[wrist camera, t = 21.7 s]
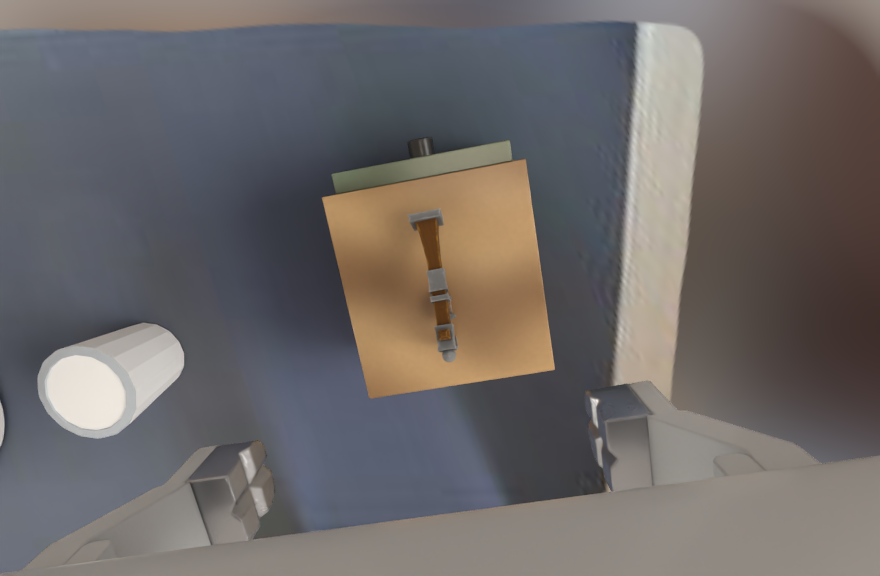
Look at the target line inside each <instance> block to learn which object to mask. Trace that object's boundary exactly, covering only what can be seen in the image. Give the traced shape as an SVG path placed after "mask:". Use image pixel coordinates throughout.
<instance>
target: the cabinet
mask: <svg viewBox="0 0 880 576" xmlns="http://www.w3.org/2000/svg"><path fill="white" fill-rule="evenodd" d="M322 200H323V204H324V209H325V213H326V217H327V221H328V226H329V230H330V234H331V238H332V242H333V247H334V251H335V255H336V259H337V264H338V268H339V272H340V276H341V280H342V285H343V289H344V293H345V297H346V302H347V306H348V310H349V314H350V318H351V323H352V327H353V331H354V335H355V340H356V344H357V348H358V352H359V356H360V361H361V365H362V369H363V373H364V377H365V382H366V386H367V390H368V394H369V398H376V397H383V396H389V395H395V394H402V393H408V392H415V391H421V390H428V389H434V388H440V387H447V386H453V385H460V384H466V383H473V382H479V381H486V380H492V379H498V378H505V377H511V376H518V375H524V374H531V373H537V372H543V371H550V370H554V369H555V368H554V361H553V353H552V346H551V339H550V332H549V324H548V317H547V310H546V303H545V295H544V288H543V281H542V274H541V266H540V259H539V252H538V245H537V238H536V230H535V223H534V216H533V209H532V201H531V194H530V187H529V180H528V172H527V165H526V159H521V160H516V161H511V162H505V163H500V164H495V165H490V166H484V167H479V168H474V169H469V170H463V171H458V172H453V173H447V174H442V175H437V176H432V177H426V178H421V179H416V180H411V181H405V182H400V183H395V184H389V185H384V186H379V187H374V188H368V189H363V190H358V191H353V192H347V193H342V194H337V195H332V196H326V197H322ZM439 208H440V209H441V212H442V216H443V219H444V220H443V224H444V225H443V226H439V243H440V254H441V262H442V268H444V269H445V272H446V282H447V287H448V290H449V292H448V294H449V296H451V298H452V300H451V305H452V313H455V315H456V317H455V318H453V319H452V320H451V322H452V324H453V325H454V334H455V335H456V337H457V342H458V347H459V348H457V349H458V350H454V351H455V352H456V358H455V360H454V361H452V362H446V361H445V360H444V359H443V357H442V353H443V352H442V353H440V352H438V344H437V337H436V331H435V328H434V326H437V322H436V316H435V309H434V305H433V304H432V303H431V299H430V297H432V295H431V294H430V293H429V282H428V276H427V273H426V271H428V266H427V260H426V256H425V253H424V249H423V246H422V242H421V238H420V235H419V232H418V230H417V231H414V229H413V228H412V226H411V224H410V222H409V218H408V216H407V215H410V214H415V213H420V212H425V211H430V210H434V209H439Z"/></svg>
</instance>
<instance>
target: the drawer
mask: <svg viewBox="0 0 880 576" xmlns="http://www.w3.org/2000/svg"><path fill="white" fill-rule="evenodd" d="M408 149H409V154H410V159H406V160H401V161H396V162H391V163H386V164H380V165H375V166H370V167H365V168H360V169H354V170H349V171H344V172H339V173H334V174H332V179H333V184H334V188H335V192H336V194H342V193H347V192H353V191H358V190H363V189H368V188H374V187H379V186H384V185H389V184H395V183H400V182H405V181H411V180H416V179H421V178H426V177H432V176H437V175H442V174H447V173H453V172H458V171H463V170H469V169H474V168H479V167H484V166H490V165H495V164H500V163H505V162H511V161H513V159H512V152H511V145H510V140H505V141H499V142H494V143H489V144H484V145H479V146H473V147H468V148H463V149H458V150H453V151H448V152H442V153H437V154H435V151H434V146H433V140H432V137H426V138H420V139H415V140H411V141H408Z"/></svg>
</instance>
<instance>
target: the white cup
mask: <svg viewBox="0 0 880 576" xmlns="http://www.w3.org/2000/svg"><path fill="white" fill-rule="evenodd" d="M183 367H184V352H183V350H182V347H181V345H180V343H179V341H178V340H177V339H176V338H175V337H174V335H173V334H172V333H171V332H170V331H168V330H166V329H165V328H163V327H161V326H159V325H157V324H150V323H140V324H137V325H133V326H129V327H126V328H123V329H120V330H117V331H114V332H111V333H108V334H105V335H102V336H99V337H96V338H93V339H90V340H87V341H83V342H80V343H77V344H74V345H71V346H68V347H65V348H62V349H59V350H56V351H55V352H54V353H53V354H52V355H50V356H49V357H48V358H47V359H46V360H45V361H44V362H43V364H42V367H41V369H40V372H39V374H38V377H37V381H38V392H39V397H40V399H41V401H42V403H43V405H44V407H45V409H46V411H47V413H48V414H49V415H50V416H51V417H52V418H53V419H54V420H55V421H56V422H57V423H58V424H59V425H60V426H61V427H63V428H65V429H67V430H69V431H71V432H73V433H75V434H77V435H79V436H83V437H91V438H104V437H108V436H112V435H116V434H118V433H119V432H120V431H121V430H122V429H124V428H125V427H126V426H127V425H129V424H130V423H131V422H132V421H133V420H134V419H135V418H136V417H137V416H138V415H139V414H140V413H141V412H143V411H144V410H145V409H146V408H147V407H148V406H149V405H150V404H151V403H152V402H153V401H154V400H155V399H156V398H157V397H158V396H159V395H160V394H161V393H163V392H164V391H165V390H166V389H167V388H168V387H169V386H170V385H171V384H172V383H173V382H174V381H175V380H176V379H177V378H178V377H179V376H180V374H181V372H182V369H183Z"/></svg>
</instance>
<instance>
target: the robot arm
mask: <svg viewBox="0 0 880 576" xmlns="http://www.w3.org/2000/svg"><path fill="white" fill-rule="evenodd" d="M585 408H586V410H587V412H588V414H589V416H590V418H591V421H590V423H589V424H588V431H589V438H590V442H591V447H592V451H593V454H594V456H595V459H596V461H597V463H598V465H599V466H601V467H603V471H604V478H605V480H606V482H607V484H608V486H609V488H610V490H611V492H606V493H599V494H591V495H584V496H576V497H569V498H562V499H554V500H547V501H539V502H532V503H524V504H517V505H509V506H502V507H495V508H487V509H480V510H472V511H465V512H457V513H450V514H442V515H435V516H427V517H420V518H412V519H405V520H397V521H390V522H382V523H375V524H367V525H360V526H352V527H345V528H337V529H330V530H322V531H315V532H307V533H300V534H292V535H285V536H277V537H270V538H262V539H255V540H252V539H253V537H254V535H255V534H256V532H257V530H258V528H259V527H260V525H261V523H260V520H259V518H260V517H261V516H262V515H264V514H265V513H266V512H268V511H269V509H270V507H271V505H272V503H273V499H274V493H275V485H274V478H273V475H272V472H271V471H270V470H269V469H268V468H267V467H266V466H264V465H263V464H264V462H265V459H266V457H267V455H266V452H265V449H264V446H263V444H262V443H261V442H260V441H258V440H257V441H249V442H242V443H234V444H227V445H216V446H211V447H206V448H201V449H198V450H197V451H196V452H195V453H194V454H193V455H192V456H191V457H190V458H189V459H188V460H187V461H186V462H185V463H184V464H183V465H182V466H181V467H180V468H179V470H178V471H177V472H176V473H175V474H174V475H173V476H172V477H171V478H170V479H169V480H168V481H167V482H166V483H165V484H164V485H163V486H159V487H156V488H154V489H152V490H150V491H148V492H146V493H145V494H143V495H141V496H139V497H137V498H135V499H134V500H132V501H130V502H128V503H126V504H124V505H123V506H121V507H119V508H117V509H115V510H113V511H111V512H110V513H108V514H106V515H104V516H102V517H100V518H99V519H97V520H95V521H93V522H91V523H89V524H88V525H86V526H84V527H82V528H80V529H78V530H77V531H75V532H73V533H71V534H69V535H67V536H66V537H64V538H62V539H60V540H58V541H56V542H55V543H53V544H51V545H49V546H47V547H46V548H45V549H44V550H43V551H42V552H41V553H40V554H39V555H38V556H36V557H35V558H34V559H33V560H32V561H31V562H30V563H29V564H28V565H26V566H25V567H24V568H23V569H22V570H21V571H16V572H9V573H1V574H0V576H880V456H875V457H867V458H859V459H852V460H844V461H837V462H830V463H822V464H821V463H820V462H818V461H817V460H816V459H814V458H813V457H812V456H811V455H809V454H808V453H807V452H806V451H804V450H803V449H802V448H801V447H799V446H798V445H797V444H795V443H792V442H788V441H785V440H782V439H779V438H775V437H772V436H768V435H765V434H762V433H759V432H756V431H752V430H749V429H746V428H742V427H739V426H736V425H732V424H729V423H726V422H722V421H719V420H716V419H713V418H709V417H706V416H703V415H699V414H696V413H693V412H690V411H686V410H683V411H678V410H677V409H676V408H675V407H674V406H673V405H672V404H671V403H670V401H669V400H668V399H667V398H666V397H665V396H664V395H663V394H662V393H661V392H660V391H659V390H658V389H657V388H656V387H655V386H654V385H653V384H652V383H651V382H650V381H642V382H637V383H632V384H623V385H617V386H611V387H606V388H600V389H594V390H588V391H586V392H585ZM4 428H5V422H4V413H3V408H2V404H1V401H0V447H1V444H2V441H3V437H4Z"/></svg>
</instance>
